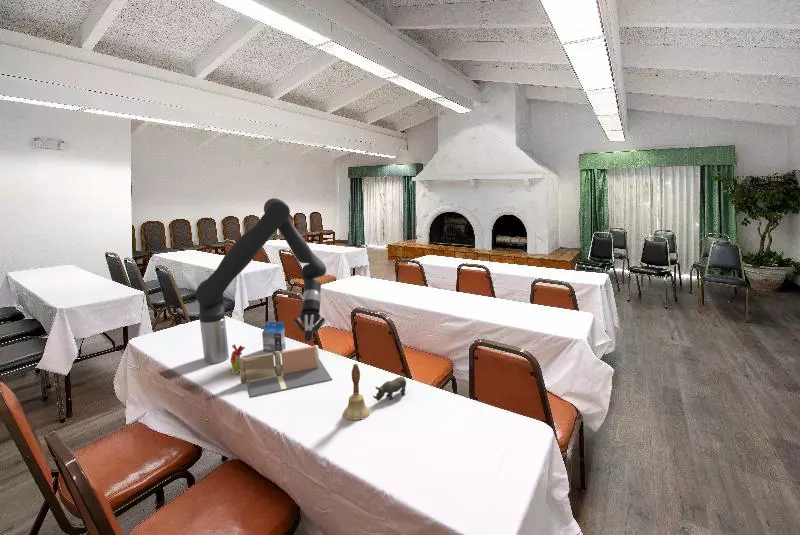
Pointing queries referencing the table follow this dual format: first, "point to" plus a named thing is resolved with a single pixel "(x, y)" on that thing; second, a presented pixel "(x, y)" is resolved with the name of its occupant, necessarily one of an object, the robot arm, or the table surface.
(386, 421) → the table surface
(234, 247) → the robot arm
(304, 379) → the card
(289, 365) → the swing fence panel
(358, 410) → the hand bell
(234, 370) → the bird rattle
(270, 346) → the label tape box
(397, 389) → the rhino figurine
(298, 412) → the table surface
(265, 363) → the fence post section
